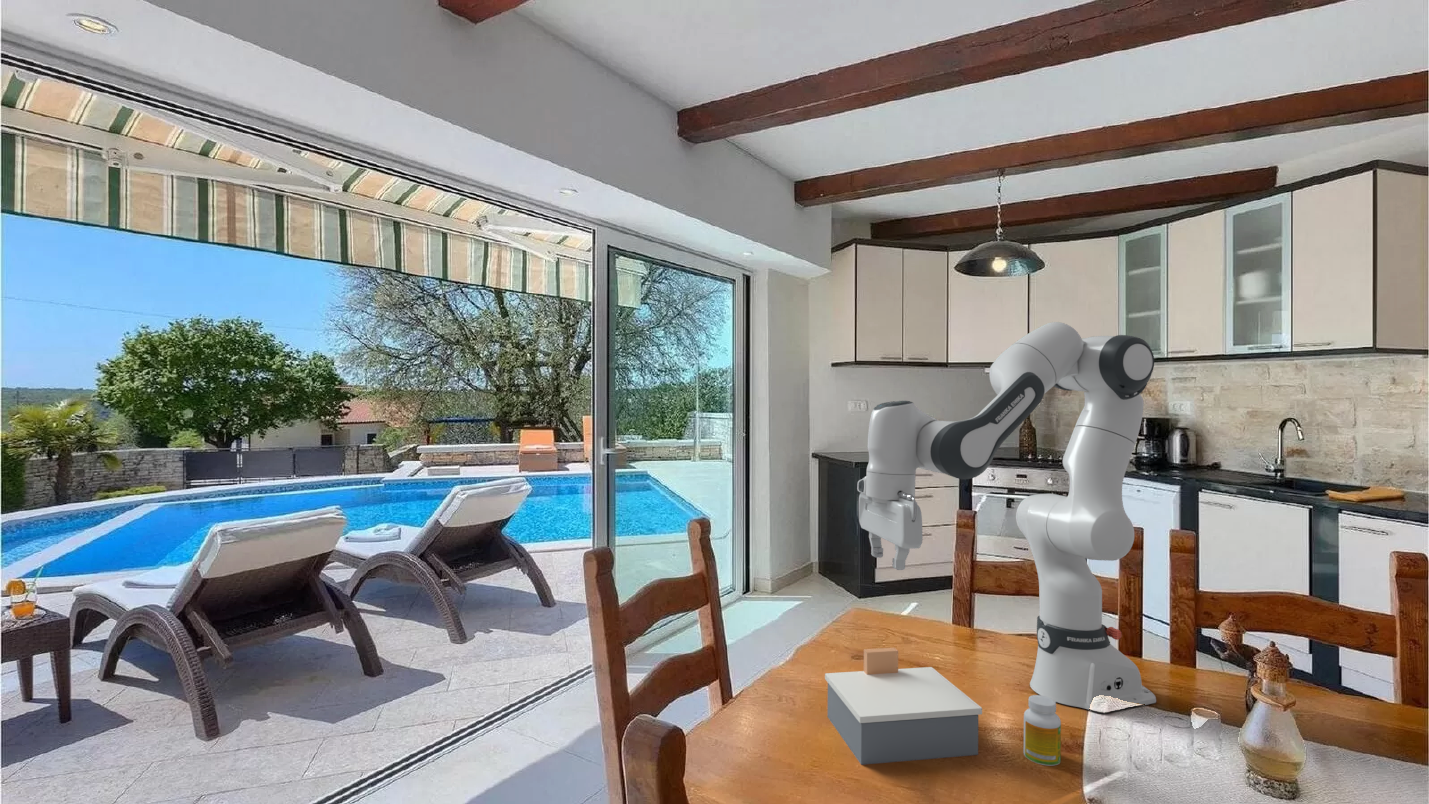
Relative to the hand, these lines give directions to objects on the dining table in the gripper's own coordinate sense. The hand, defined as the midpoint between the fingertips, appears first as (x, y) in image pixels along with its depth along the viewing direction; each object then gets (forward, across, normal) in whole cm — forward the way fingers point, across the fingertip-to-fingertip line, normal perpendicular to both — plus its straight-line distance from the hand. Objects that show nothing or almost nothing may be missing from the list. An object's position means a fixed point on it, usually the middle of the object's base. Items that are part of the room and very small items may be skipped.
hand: (887, 562), depth 121 cm
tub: (+28, -8, 0) cm, 29 cm away
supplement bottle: (+28, -18, -20) cm, 39 cm away
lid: (+21, -8, +1) cm, 22 cm away
